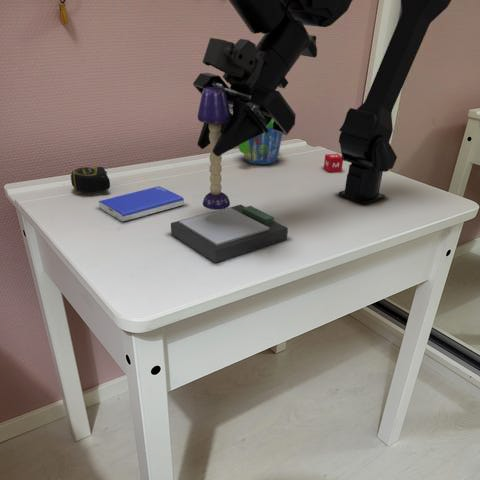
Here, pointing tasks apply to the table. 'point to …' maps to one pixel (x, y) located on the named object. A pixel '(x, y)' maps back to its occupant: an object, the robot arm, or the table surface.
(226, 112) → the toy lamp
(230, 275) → the table surface
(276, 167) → the table surface
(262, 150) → the snack cup
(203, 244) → the scale
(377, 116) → the robot arm
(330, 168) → the dice
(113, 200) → the hard drive
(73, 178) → the tape measure
